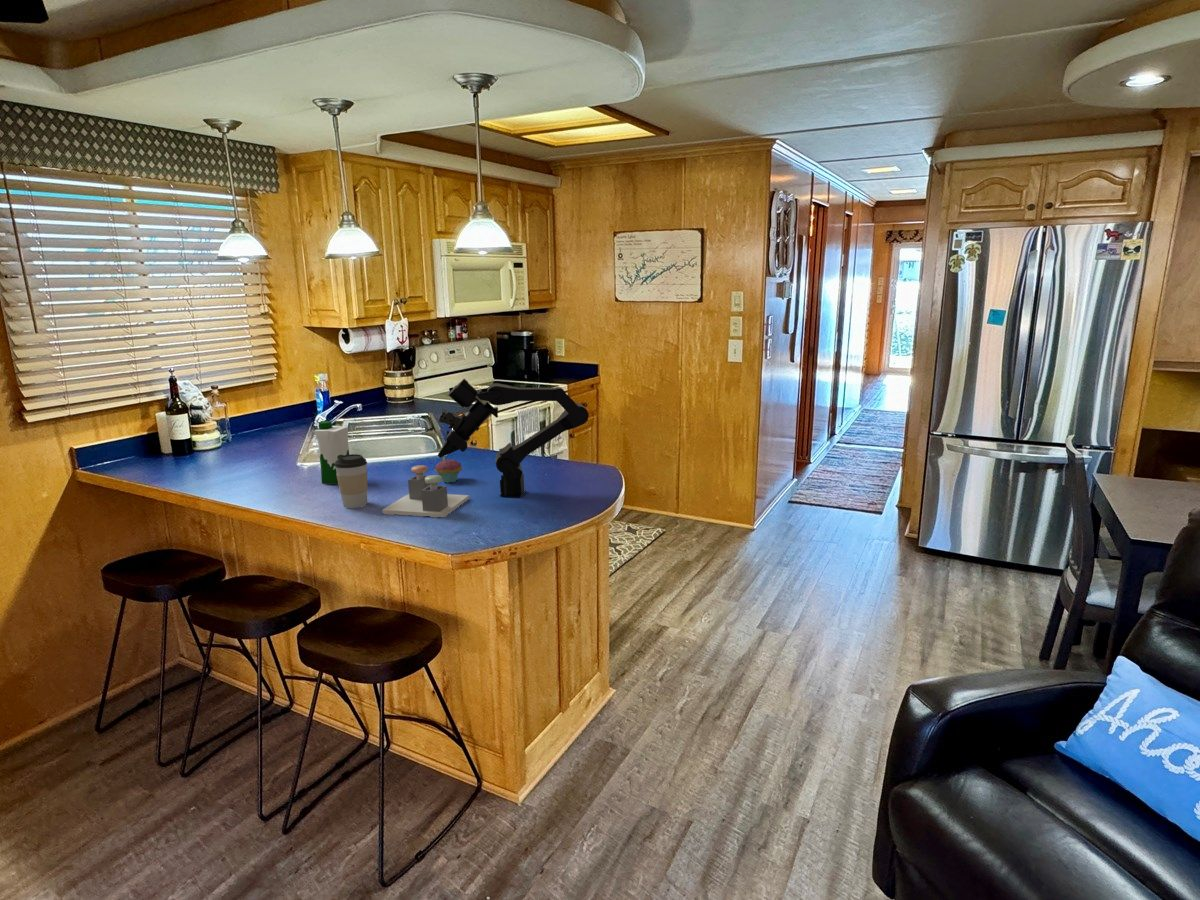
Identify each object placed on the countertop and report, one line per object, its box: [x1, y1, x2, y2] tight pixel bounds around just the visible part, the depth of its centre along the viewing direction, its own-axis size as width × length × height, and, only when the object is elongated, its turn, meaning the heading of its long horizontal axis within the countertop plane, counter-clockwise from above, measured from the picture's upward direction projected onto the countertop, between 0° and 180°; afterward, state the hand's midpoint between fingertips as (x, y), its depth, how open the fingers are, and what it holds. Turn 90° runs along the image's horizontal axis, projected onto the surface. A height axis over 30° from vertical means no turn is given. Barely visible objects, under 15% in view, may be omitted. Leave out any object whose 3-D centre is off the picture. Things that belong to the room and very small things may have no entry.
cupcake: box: [434, 445, 463, 484], centre depth 226 cm, size 9×8×12 cm
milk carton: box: [313, 420, 350, 485], centre depth 227 cm, size 9×9×20 cm
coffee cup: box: [335, 453, 369, 509], centre depth 203 cm, size 9×9×15 cm
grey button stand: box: [382, 474, 470, 518], centre depth 201 cm, size 19×17×7 cm
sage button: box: [425, 474, 442, 491], centre depth 195 cm, size 5×5×7 cm
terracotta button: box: [410, 464, 428, 480], centre depth 206 cm, size 5×5×7 cm
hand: (438, 456), depth 205 cm, fingers closed
